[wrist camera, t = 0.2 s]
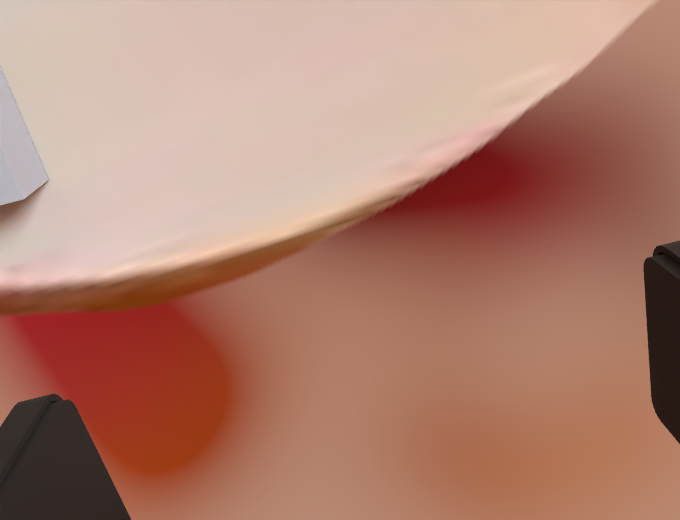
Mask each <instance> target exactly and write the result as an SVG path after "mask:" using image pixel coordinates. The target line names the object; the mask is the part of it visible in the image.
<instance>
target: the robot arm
mask: <svg viewBox="0 0 680 520" xmlns="http://www.w3.org/2000/svg"><path fill="white" fill-rule="evenodd" d="M644 281H645V282H644V283H645V298H646V299H645V300H646V316H647V331H648V349H649V364H650V381H651V397H652V403H653V406H654V409H655V412H656V414H657V416H658V417H659V419H660V420H661V422H662V423H663V424H664V426H665V427H666V428H667V429H668V430H669V432H670V433H671V434H672V435H673V436H674V437H675V439H676V440H677V441H678V442H679V443H680V241H677V242H672V243H668V244H664V245H660V246H657V247H656V248H655V249H654V252H653V257H649V258H647V259H646V260H645V262H644ZM0 520H131V518H130V516H129V514H128V512H127V510H126V508H125V506H124V504H123V502H122V500H121V498H120V496H119V494H118V492H117V490H116V488H115V486H114V484H113V482H112V480H111V478H110V476H109V473H108V471H107V469H106V467H105V466H104V463H103V461H102V459H101V457H100V455H99V453H98V451H97V449H96V447H95V445H94V443H93V441H92V439H91V437H90V435H89V433H88V431H87V429H86V427H85V425H84V423H83V421H82V419H81V416H80V414H79V413H78V410H77V408H76V407H75V405H74V404H73V402H72V401H70V400H63V399H62V398H61V397H59V396H58V395H56V394H50V395H46V396H42V397H39V398H34V399H30V400H26V401H22V402H19V403H17V404H16V405H15V406H14V408H13V409H12V410H11V412H10V413H9V415H8V416H7V418H6V419H5V421H4V422H3V424H2V425H1V427H0Z"/></svg>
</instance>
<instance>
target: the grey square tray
mask: <svg viewBox="0 0 680 520" xmlns="http://www.w3.org/2000/svg"><path fill="white" fill-rule="evenodd" d="M48 180H49V178H48V176H47V173H46V171H45V169H44V166H43V164H42V162H41V159H40V157H39V155H38V152H37V150H36V148H35V146H34V143H33V141H32V139H31V136H30V134H29V132H28V129H27V127H26V125H25V122H24V120H23V118H22V115H21V113H20V111H19V108H18V106H17V104H16V102H15V99H14V97H13V95H12V92H11V90H10V88H9V85H8V83H7V81H6V78H5V76H4V74H3V71H2V69H1V67H0V205H3V204H7V203H11V202H15V201H19V200H23V199H25V198H26V197H28V196H29V195H30V194H31V193H33V192H34V191H35V190H36V189H38V188H39V187H40V186H42V185H43V184H44V183H45V182H47V181H48Z"/></svg>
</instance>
